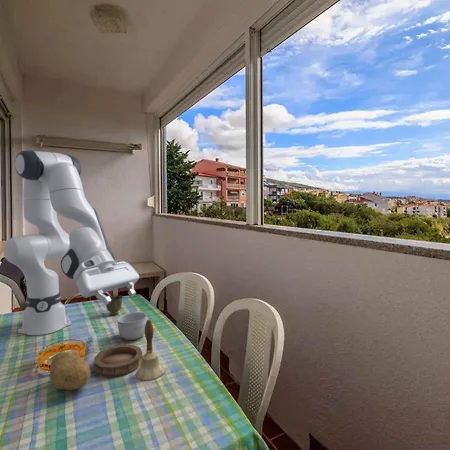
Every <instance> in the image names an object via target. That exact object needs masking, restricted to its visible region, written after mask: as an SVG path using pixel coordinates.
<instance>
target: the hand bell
mask: <svg viewBox="0 0 450 450" xmlns="http://www.w3.org/2000/svg"><path fill="white" fill-rule="evenodd" d="M144 336H145V339H146V352H145V353H144V354H142V363H141V365H140V367H139V368H137V370H136V373H135V376H136V378H137V379H139V380H141V381H151V380H155V379H159V378H160V377H162V376H163V375H164V373H165V367H164V366H163V365H162V364H161V363H160V361H159V357H158V356H159V355H158V353H156V352H155V351H153V338H154V325H153V323H152V320H151V319H147V322H146V325H145V334H144Z"/></svg>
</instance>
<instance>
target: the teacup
mask: <svg viewBox="0 0 450 450" xmlns="http://www.w3.org/2000/svg"><path fill="white" fill-rule="evenodd" d="M147 320H148V314H147V313H146V312H143V311H140V310H136V311H135V312H134V311H133V312H128V313H125V314H122V315H120V316H119V317H118V318H117V319H116V321H117V327H118V332H119V336H120V337H121V338H123V339H124V340H126V341H136V340H138V339H140V338H142V337H143V336H145V325H146V322H147Z"/></svg>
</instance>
